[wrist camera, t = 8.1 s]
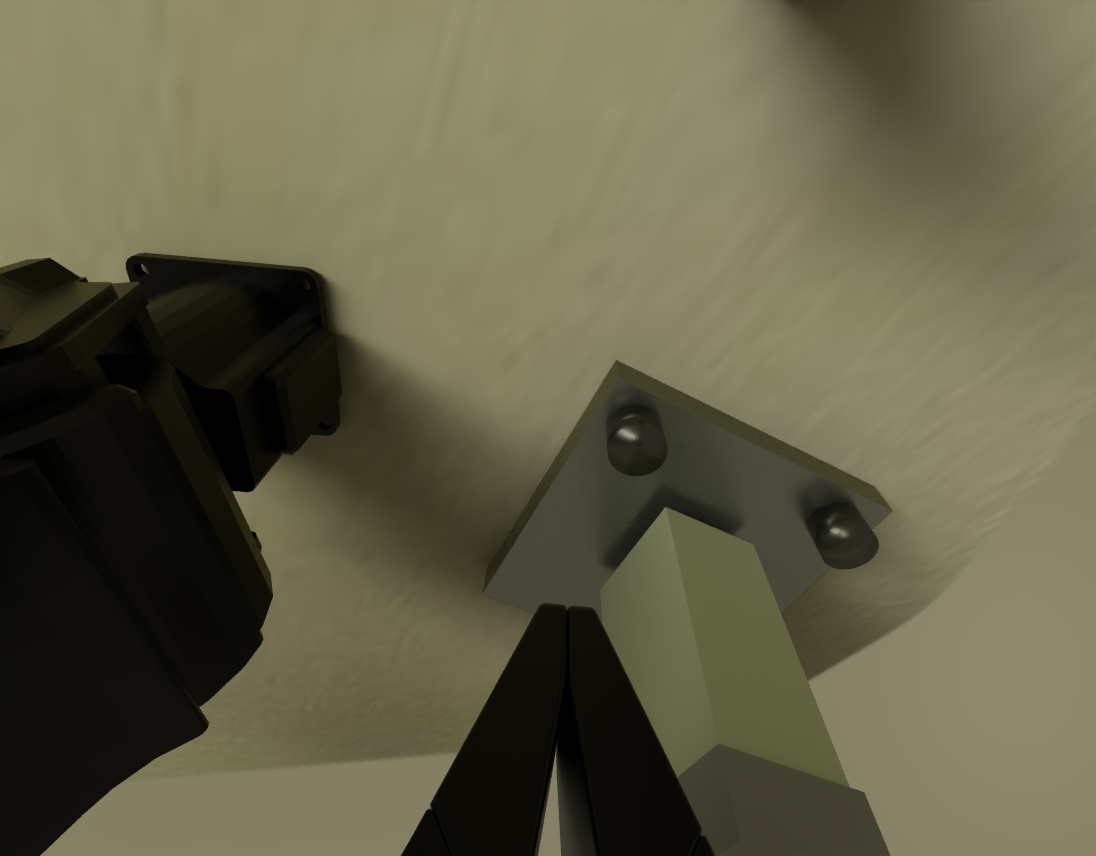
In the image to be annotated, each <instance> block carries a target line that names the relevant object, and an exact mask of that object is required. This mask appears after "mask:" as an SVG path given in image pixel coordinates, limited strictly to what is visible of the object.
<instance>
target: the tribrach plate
mask: <svg viewBox="0 0 1096 856" xmlns="http://www.w3.org/2000/svg"><path fill="white" fill-rule="evenodd" d="M665 507H667V508H670V509H672V510H674V511H677V512H679V513H681V514H684V515H686V516H688V517H691V518H693V519H695V520H698V521H700V522H702V523H705V524H707V525H709V526H712V527H714V528H716V529H719V530H721V531H723V532H726V533H728V534H730V535H732V536H735V537H737V538H739V539H742V540H744V541H746V542H749V543H751V544H753V545H754V547H755V549H756V552H757V554H758V557H759V559H760V562H761V564H762V567H763V569H764V572H765V574H766V577H767V580H768V582H769V585H770V587H771V590H772V592H773V595H774V597H775V600H776V602H777V605H778V607H779V610H780V612H781V614H782V613H783V612H784V611H785V610H786V609H787V608H788V607H789V606H790V605H791V604H792V603H794V602H795V601H796V600H797V599H798V598H799V597H800V596H801V595H802V594H803V593H804V592H805V591H806V590H808V589H809V588H810V587H811V586H812V585H813V584H814V583H815V582H816V581H817V580H818V579H819V578H820V577H821V576H823V575H824V574H825V573H826V572H827V571H828V570H829V569H830V568H831V567H833V568H836V569H852V568H856V567H859V566H861V565H863V564H865V563H867V562H868V561H870V560H871V559H872V558H873V557H874V556H875V554H876V553H877V550H878V547H879V542H878V539H877V537H876V536H875V534H874V533H873V531H872V529H873V528H874V527H875V526H876V525H877V524H878V523H880V522H881V521H882V520H883V519H884V518H885V517H886V516H887V515H888V514H889V513H890V512H891V511H892V509H891V508H890V507H889V505H888V504H887V503H886V501H885V500H884V499H883V497H882V496H881V494H880V493H879V492H878V490H877V489H876V488H875V487H874V486H872V485H870V484H868V483H866V482H864V481H862V480H860V479H858V478H856V477H854V476H852V475H850V474H848V473H846V472H844V471H842V470H839V469H837V468H835V467H833V466H831V465H829V464H827V463H825V462H823V461H821V460H819V459H817V458H815V457H813V456H811V455H809V454H807V453H805V452H803V451H801V450H799V449H797V448H795V447H793V446H791V445H788V444H786V443H784V442H782V441H780V440H778V439H776V438H774V437H772V436H770V435H768V434H766V433H764V432H762V431H760V430H758V429H756V428H754V427H752V426H750V425H748V424H746V423H744V422H742V421H739V420H737V419H735V418H733V417H731V416H729V415H727V414H725V413H723V412H721V411H719V410H717V409H715V408H713V407H711V406H709V405H707V404H705V403H703V402H701V401H699V400H697V399H695V398H693V397H690V396H688V395H686V394H684V393H682V392H680V391H678V390H676V389H674V388H672V387H670V386H668V385H666V384H664V383H662V382H660V381H658V380H656V379H654V378H652V377H650V376H648V375H646V374H644V373H642V372H639V371H637V370H635V369H633V368H631V367H629V366H627V365H625V364H623V363H621V362H619V361H617V360H616V361H615V363H614V365H613V366H612V368H611V370H610V371H609V373H608V374H607V376H606V378H605V379H604V381H603V382H602V384H601V386H600V387H599V389H598V391H597V392H596V394H595V395H594V397H593V399H592V400H591V402H590V404H589V405H588V407H587V408H586V410H585V412H584V413H583V415H582V417H581V418H580V420H579V421H578V423H577V425H576V426H575V428H574V429H573V431H572V433H571V434H570V436H569V438H568V439H567V441H566V442H565V444H564V446H563V447H562V449H561V451H560V452H559V454H558V455H557V457H556V459H555V460H554V462H553V464H552V465H551V467H550V468H549V470H548V472H547V473H546V475H545V476H544V478H543V480H542V481H541V483H540V485H539V486H538V488H537V489H536V491H535V493H534V494H533V496H532V498H531V499H530V501H529V502H528V504H527V506H526V507H525V509H524V511H523V512H522V514H521V515H520V517H519V519H518V520H517V522H516V523H515V525H514V527H513V528H512V530H511V532H510V533H509V535H508V536H507V538H506V540H505V541H504V543H503V545H502V546H501V548H500V549H499V551H498V553H497V554H496V556H495V558H494V559H493V561H492V562H491V564H490V566H489V567H488V569H487V572H486V578H485V583H484V588H483V593H482V594H483V595H485V596H488V597H491V598H493V599H496V600H499V601H501V602H504V603H506V604H509V605H512V606H514V607H517V608H520V609H522V610H525V611H528V612H530V613H533V614H535V613H536V611H537V609H538V607H539V606H540V605H541V604H542V603H552V604H562V605H565V606H566V608H567V609H568V607H570V606H584V607H591V608H593V609H595V611H596V612H597V614H598V616H599V618H600V620H601V622H602V609H601V592H600V589H601V588H602V587H603V586H604V584H605V583H606V582H607V581H608V579H609V578H610V577H611V576H612V574H613V573H614V572H615V570H616V569H617V568H618V567H619V565H620V564H621V563H622V562H623V560H624V559H625V558H626V557H627V555H628V554H629V553H630V552H631V550H632V549H633V548H634V546H635V545H636V544H637V543H638V541H639V540H640V539H641V538H642V536H643V535H644V534H645V533H646V531H647V530H648V529H649V527H650V526H651V525H652V524H653V522H654V521H655V520H656V519H657V517H658V516H659V515H660V514H661V512H662V511H663V510H664V508H665Z"/></svg>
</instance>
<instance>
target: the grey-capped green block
mask: <svg viewBox="0 0 1096 856" xmlns="http://www.w3.org/2000/svg"><path fill="white" fill-rule="evenodd" d="M600 592H601V609H602V624H603V626H604V628H605V630H606V632H607V634H608V637H609V639H610V641H611V643H612V645H613V647H614V649H615V651H616V653H617V655H618V657H619V659H620V661H621V663H622V665H623V667H624V669H625V671H626V673H627V675H628V677H629V679H630V682H631V684H632V686H633V688H634V690H635V692H636V694H637V696H638V698H639V700H640V702H641V704H642V706H643V708H644V710H645V712H646V714H647V716H648V718H649V720H650V722H651V725H652V727H653V729H654V731H655V733H656V735H657V737H658V739H659V741H660V743H661V745H662V747H663V749H664V751H665V753H666V755H667V757H668V759H669V761H670V763H671V765H672V768H673V770H674V772H675V774H676V776H677V778H678V780H679V782H680V784H681V786H682V788H683V790H684V792H685V794H686V796H687V798H688V800H689V802H690V804H691V806H692V808H693V810H694V813H695V815H696V817H697V819H698V821H699V823H700V825H701V827H702V829H703V832H702V834H701V836H702V835H705V836H706V837H707V839H708V841H709V843H710V845H711V847H712V849H713V851H714V853H715V855H716V856H890V854H889V851H888V849H887V846H886V844H885V842H884V839H883V837H882V834H881V832H880V829H879V827H878V825H877V822H876V820H875V817H874V815H873V813H872V810H871V808H870V805H869V803H868V800H867V798H866V796H865V793H864V792H861V791H859V790H855V789H853V788H850V787H849V784H848V782H847V779H846V777H845V774H844V772H843V769H842V767H841V764H840V762H839V759H838V756H837V754H836V751H835V749H834V746H833V744H832V741H831V739H830V736H829V734H828V731H827V729H826V726H825V723H824V721H823V718H822V716H821V714H820V711H819V709H818V706H817V703H816V701H815V698H814V696H813V693H812V691H811V688H810V686H809V683H808V681H807V678H806V675H805V673H804V670H803V668H802V665H801V663H800V660H799V658H798V655H797V653H796V650H795V648H794V645H793V643H792V640H791V638H790V635H789V633H788V630H787V628H786V625H785V622H784V620H783V617H782V615H781V612H780V610H779V607H778V605H777V602H776V600H775V597H774V595H773V592H772V590H771V587H770V585H769V582H768V580H767V577H766V574H765V572H764V569H763V567H762V564H761V562H760V559H759V557H758V554H757V552H756V549H755V547H754V545H753V544H751V543H749V542H746V541H744V540H742V539H739V538H737V537H735V536H732V535H730V534H728V533H726V532H723V531H721V530H719V529H716V528H714V527H712V526H709V525H707V524H705V523H702V522H700V521H698V520H695V519H693V518H691V517H688V516H686V515H684V514H681V513H679V512H677V511H674V510H672V509H670V508H667V507H665V508H664V510H663V511H662V512H661V514H660V515H659V516H658V517H657V519H656V520H655V521H654V522H653V524H652V525H651V526H650V527H649V529H648V530H647V531H646V533H645V534H644V535H643V536H642V538H641V539H640V540H639V541H638V543H637V544H636V545H635V546H634V548H633V549H632V550H631V552H630V553H629V554H628V555H627V557H626V558H625V559H624V560H623V562H622V563H621V564H620V565H619V567H618V568H617V569H616V570H615V572H614V573H613V574H612V576H611V577H610V578H609V579H608V581H607V582H606V583H605V584H604V586H603V587H602V588H601V589H600Z"/></svg>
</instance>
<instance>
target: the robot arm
mask: <svg viewBox="0 0 1096 856" xmlns="http://www.w3.org/2000/svg"><path fill="white" fill-rule="evenodd" d="M141 264H143V265H144V266H145V267H146V268H147V269H148V271H149V274H147V273H145V272H144V271H143V269H142V267H141ZM126 270H127V273H128V277H129V280H130V282H126V283H114V284H112V283H109V282H88V280H87V279H86V277H79V276H77V275H76V274H74V273H73V272H71V271H69V270H68V269H66V268H65V267H63V266H62V265H60V264H58V263H57V262H55V261H54V260H52V259H51V258H42V259H30V260H24V261H21V262H18V263H14V264H11V265H8V266H5V267H1V268H0V856H40V855H41V854H42V853H43V852H44V851H45V850H46V849H47V848H48V847H50V846H51V845H52V844H53V843H54V842H55V841H56V840H57V839H58V838H59V837H60V836H61V835H62V834H63V833H64V832H65V831H66V830H67V829H68V828H70V827H71V826H72V824H74V823H75V822H76V821H77V819H79V818H80V817H81V816H82V815H83V814H84V813H85V812H87V811H88V810H89V809H90V808H91V807H92V806H93V805H95V803H97V802H98V801H99V800H100V799H101V798H102V797H104V796H105V795H106V794H107V793H108V792H109V791H110V790H112V789H113V788H114V787H116V786H117V785H119V784H120V783H121V782H123V781H124V780H126V779H127V778H128V777H130V776H131V775H133V774H134V773H136V772H137V771H138V770H140V769H141V768H143V767H144V766H146V765H147V764H148V763H150V762H151V761H153V760H154V759H155V758H157V757H159V756H161V755H163V754H165V753H167V752H169V751H171V750H173V749H175V748H177V747H179V746H181V745H183V744H185V743H187V742H189V741H191V740H193V739H195V738H197V737H198V736H200V735H202V734H203V733H204V732H205V731H206V730H207V728H208V726H209V722H208V720H207V719H206V717H205V716H204V714H203V713H202V711H201V710H200V708H199V707H201V706H202V705H203V704H205V703H206V702H208V701H209V700H210V699H211V698H212V697H213V696H214V695H215V694H216V693H217V692H218V691H219V690H220V689H221V688H222V687H224V686H225V685H226V684H227V683H228V682H229V681H230V680H231V679H232V678H233V677H234V676H235V675H236V674H237V673H238V672H239V671H241V670H242V668H243V667H244V666H245V665H246V664H247V662H248V661H249V660H250V658H251V657H252V656H253V655H254V653H255V652H256V651H257V649H258V648H259V647H260V645H261V644H262V641H263V634H262V632H261V631H260V629H261V628H262V626H263V624H264V621H265V618H266V615H267V612H268V609H269V606H270V604H271V601H272V598H273V591H272V581H271V573H270V571H269V569H268V567H267V565H266V563H265V560H264V558H263V556H262V554H261V549H262V546H261V543H260V541H259V539H258V537H257V535H256V533H255V532H252V531H251V530H250V528H249V526H248V524H247V522H246V519H245V517H244V515H243V513H242V511H241V509H240V507H239V504H238V502H237V500H236V498H235V496H234V494H233V492H232V491H240V492H251V491H253V490H254V489H255V488H256V486H257V485H258V484H259V483H260V481H261V480H262V479H263V478H264V477H265V475H266V474H267V473H268V472H269V470H270V469H271V468H272V467H273V466H274V464H275V463H276V462H277V461H278V459H279V458H280V457H281V456H282V455H283V454H285V455H293V454H294V453H295V452H297V451H298V450H299V449H300V448H301V446H302V445H303V444H304V442H305V441H306V440H307V439H308V437H309V436H310V435H311V434H313V435H324V436H327V435H332V434H334V432H335V431H336V430H337V428H338V427H339V425H340V415H339V407H338V399H339V398H340V396H341V395H342V388H341V380H340V372H339V364H338V356H337V349H336V341H335V335H334V334H333V332H332V331H331V330H330V329H329V328H328V324H327V317H326V309H325V302H324V294H323V287H322V282H321V279H320V277H319V275H318V274H317V273H316V272H315V271H313V270H312V269H309V268H306V267H295V266H284V265H273V264H262V263H251V262H240V261H229V260H218V259H207V258H196V257H185V256H174V255H163V254H152V253H139V254H136V255H134V256H131V257H130V258H128V259H127V262H126ZM300 278H303V279H306V280H307V281H308V282H309V284H310V289H306V288H304V287H303V286H302V285H301V282H300ZM322 419H324V420H327V421H328V422H329V423H330V425H326V424H324V423H323V422H322ZM556 745H557V746H556ZM555 751H556V761H557V784H558V785H557V786H558V804H559V823H560V840H561V856H716V855H715V853H714V851H713V849H712V847H711V845H710V843H709V841H708V839H707V837H706V836H705V835H702V836H701V834H702V832H703V829H702V827H701V825H700V823H699V821H698V819H697V817H696V815H695V813H694V810H693V808H692V806H691V804H690V802H689V800H688V798H687V796H686V794H685V792H684V790H683V788H682V786H681V784H680V782H679V780H678V778H677V776H676V774H675V772H674V770H673V768H672V765H671V763H670V761H669V759H668V757H667V755H666V753H665V751H664V749H663V747H662V745H661V743H660V741H659V739H658V737H657V735H656V733H655V731H654V729H653V727H652V725H651V722H650V720H649V718H648V716H647V714H646V712H645V710H644V708H643V706H642V704H641V702H640V700H639V698H638V696H637V694H636V692H635V690H634V688H633V686H632V684H631V682H630V679H629V677H628V675H627V673H626V671H625V669H624V667H623V665H622V663H621V661H620V659H619V657H618V655H617V653H616V651H615V649H614V647H613V645H612V643H611V641H610V639H609V637H608V634H607V632H606V630H605V628H604V626H603V624H602V622H601V620H600V618H599V616H598V614H597V612H596V611H595V609H593V608H591V607H584V606H570V607H568V609H567V608H566V606H565V605H562V604H552V603H542V604H541V605H540V606H539V607H538V609H537V611H536V613H535V614H534V616H533V618H532V620H531V622H530V623H529V625H528V627H527V629H526V631H525V633H524V634H523V636H522V638H521V640H520V642H519V643H518V645H517V647H516V649H515V651H514V653H513V654H512V656H511V658H510V660H509V662H508V663H507V665H506V667H505V669H504V671H503V673H502V674H501V676H500V678H499V680H498V682H497V683H496V685H495V687H494V689H493V691H492V693H491V694H490V696H489V698H488V700H487V702H486V703H485V705H484V707H483V709H482V711H481V713H480V714H479V716H478V718H477V720H476V722H475V723H474V725H473V727H472V729H471V731H470V733H469V734H468V736H467V738H466V740H465V742H464V743H463V745H462V747H461V749H460V751H459V753H458V754H457V756H456V758H455V760H454V762H453V764H452V765H451V767H450V769H449V771H448V773H447V774H446V776H445V778H444V780H443V782H442V783H441V785H440V787H439V789H438V791H437V793H436V794H435V796H434V798H433V800H432V802H431V804H430V807H431V808H430V809H428V810H426V812H425V814H424V816H423V818H422V819H421V821H420V823H419V825H418V827H417V829H416V830H415V832H414V834H413V835H412V837H411V839H410V841H409V842H408V844H407V846H406V848H405V849H404V851H403V853H402V855H401V856H538V852H539V846H540V840H541V834H542V828H543V823H544V817H545V812H546V806H547V800H548V794H549V788H550V783H551V777H552V770H553V764H554V758H555Z"/></svg>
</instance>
